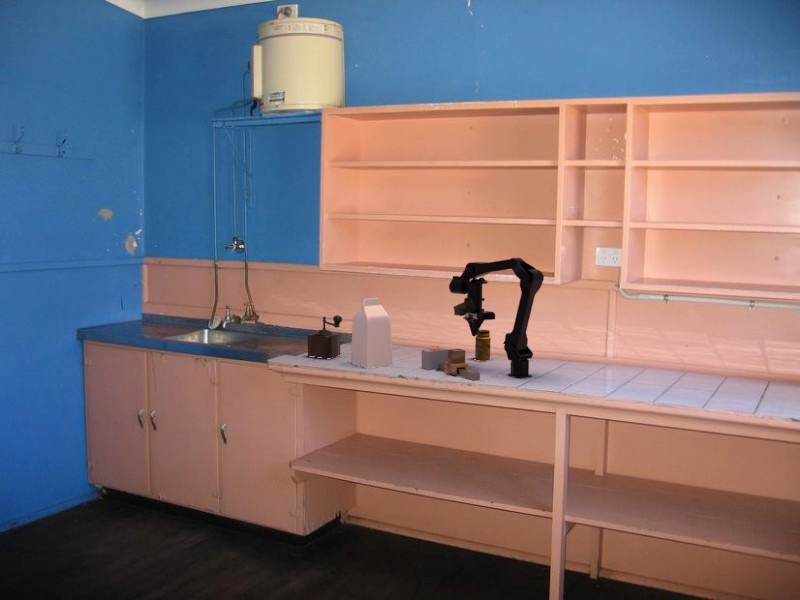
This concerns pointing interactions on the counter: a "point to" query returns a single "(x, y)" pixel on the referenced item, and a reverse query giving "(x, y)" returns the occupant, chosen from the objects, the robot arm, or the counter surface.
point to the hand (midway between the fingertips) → (474, 336)
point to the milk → (371, 335)
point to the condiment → (482, 346)
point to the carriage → (455, 361)
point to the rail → (462, 372)
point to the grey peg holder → (434, 358)
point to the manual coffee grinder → (325, 341)
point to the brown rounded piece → (434, 348)
